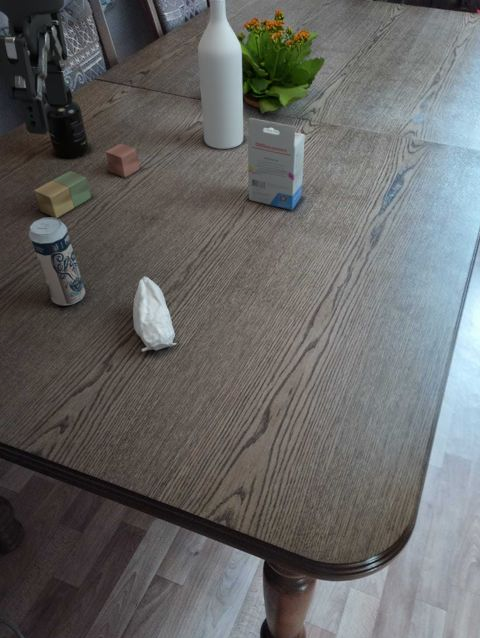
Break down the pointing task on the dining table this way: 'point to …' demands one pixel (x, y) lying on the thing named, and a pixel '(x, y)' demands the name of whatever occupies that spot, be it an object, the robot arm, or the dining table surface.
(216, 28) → the bottle
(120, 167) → the block row
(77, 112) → the supplement bottle
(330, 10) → the dining table surface
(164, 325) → the white crumpled pouch
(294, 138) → the ink box
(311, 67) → the potted flower
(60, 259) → the white cylindrical canister
